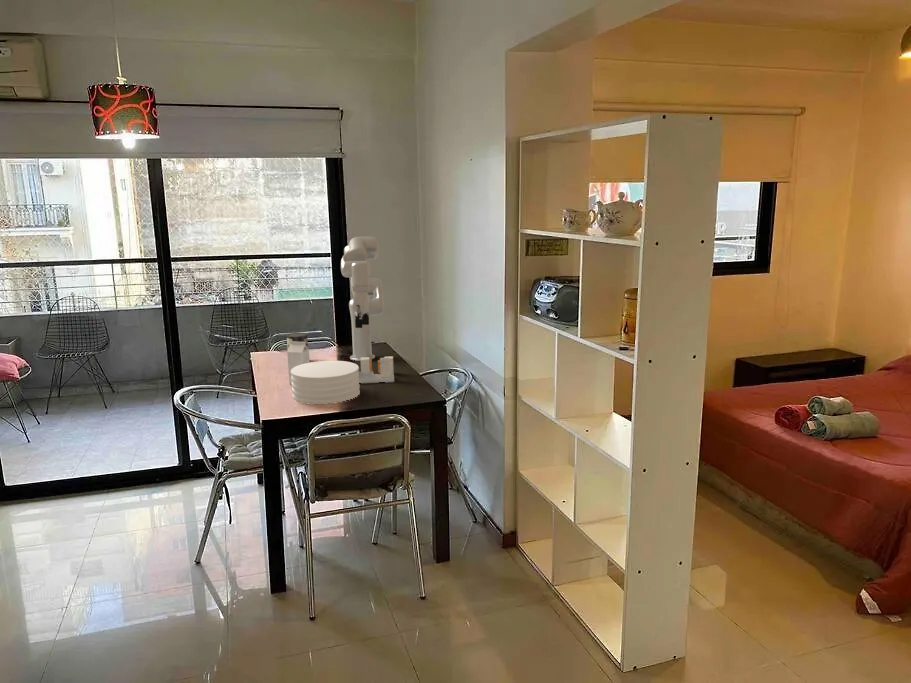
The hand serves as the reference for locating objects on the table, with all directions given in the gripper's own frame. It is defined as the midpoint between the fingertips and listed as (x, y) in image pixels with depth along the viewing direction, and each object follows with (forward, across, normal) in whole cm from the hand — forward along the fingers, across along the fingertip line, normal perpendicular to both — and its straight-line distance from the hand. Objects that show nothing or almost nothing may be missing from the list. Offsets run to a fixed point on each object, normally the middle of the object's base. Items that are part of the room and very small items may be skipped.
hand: (362, 326), depth 315 cm
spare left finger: (+23, -3, +11) cm, 26 cm away
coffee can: (+22, -20, -41) cm, 50 cm away
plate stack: (+25, +33, -6) cm, 41 cm away
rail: (+24, +10, +5) cm, 26 cm away
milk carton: (+24, +17, -24) cm, 38 cm away
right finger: (+23, 0, +1) cm, 23 cm away
